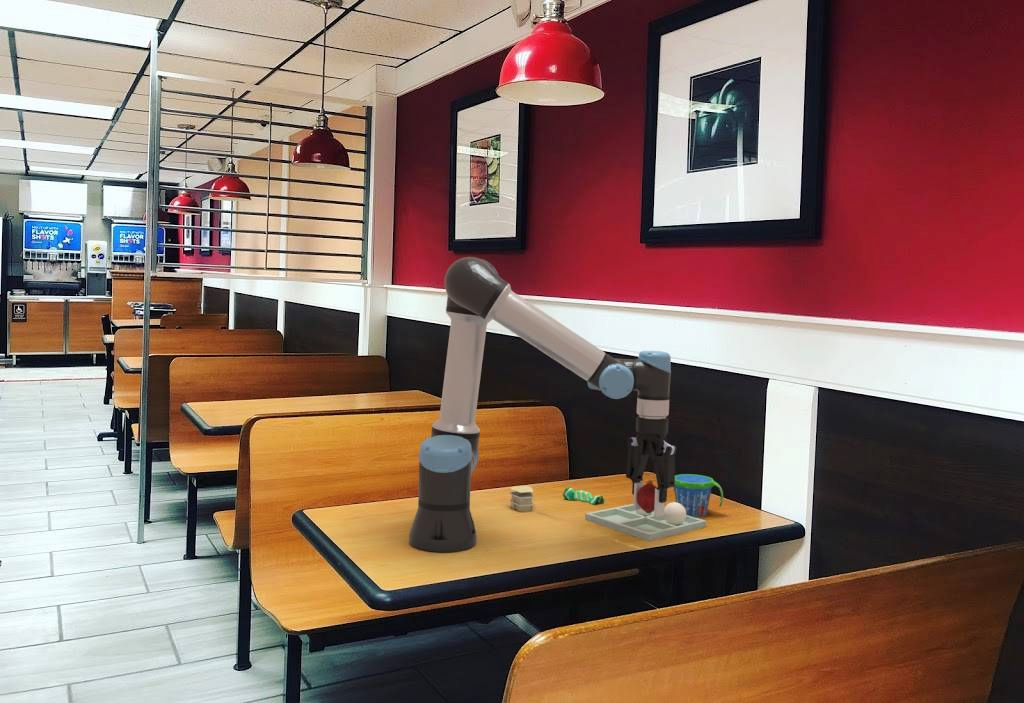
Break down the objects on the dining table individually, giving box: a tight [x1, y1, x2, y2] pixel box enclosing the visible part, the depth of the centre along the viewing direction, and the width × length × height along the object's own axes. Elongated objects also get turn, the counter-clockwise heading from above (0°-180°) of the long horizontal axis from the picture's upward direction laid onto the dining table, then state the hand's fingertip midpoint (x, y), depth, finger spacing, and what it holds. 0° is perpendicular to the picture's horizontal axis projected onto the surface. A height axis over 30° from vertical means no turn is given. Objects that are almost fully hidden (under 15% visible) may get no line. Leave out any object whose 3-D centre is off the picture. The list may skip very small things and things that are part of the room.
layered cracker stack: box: [509, 485, 535, 513], centre depth 222 cm, size 10×9×6 cm
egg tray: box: [584, 503, 707, 542], centre depth 208 cm, size 21×21×2 cm
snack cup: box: [672, 473, 724, 518], centre depth 219 cm, size 16×10×10 cm
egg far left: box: [632, 501, 653, 516], centre depth 215 cm, size 6×6×6 cm
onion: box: [637, 479, 658, 513], centre depth 200 cm, size 6×6×8 cm
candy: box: [562, 486, 605, 506], centre depth 229 cm, size 12×3×4 cm
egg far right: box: [663, 501, 686, 525], centre depth 207 cm, size 6×6×6 cm
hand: (648, 512), depth 201 cm, fingers closed on onion, 6 cm apart
